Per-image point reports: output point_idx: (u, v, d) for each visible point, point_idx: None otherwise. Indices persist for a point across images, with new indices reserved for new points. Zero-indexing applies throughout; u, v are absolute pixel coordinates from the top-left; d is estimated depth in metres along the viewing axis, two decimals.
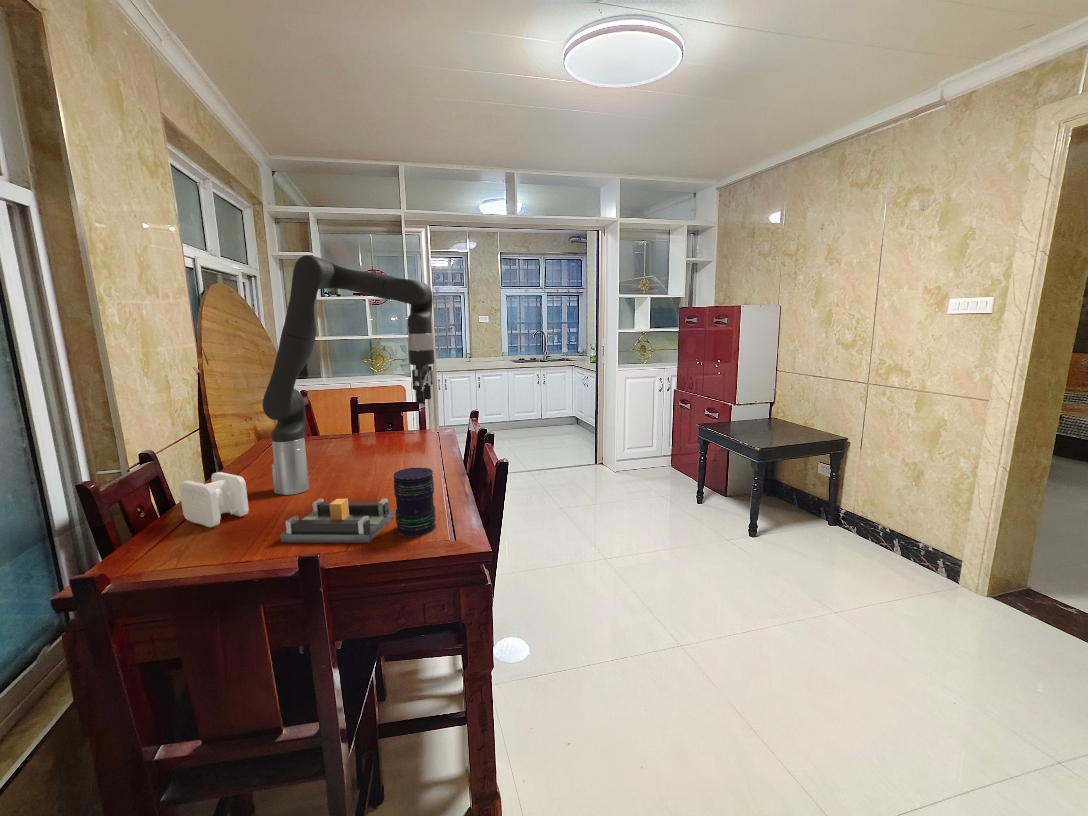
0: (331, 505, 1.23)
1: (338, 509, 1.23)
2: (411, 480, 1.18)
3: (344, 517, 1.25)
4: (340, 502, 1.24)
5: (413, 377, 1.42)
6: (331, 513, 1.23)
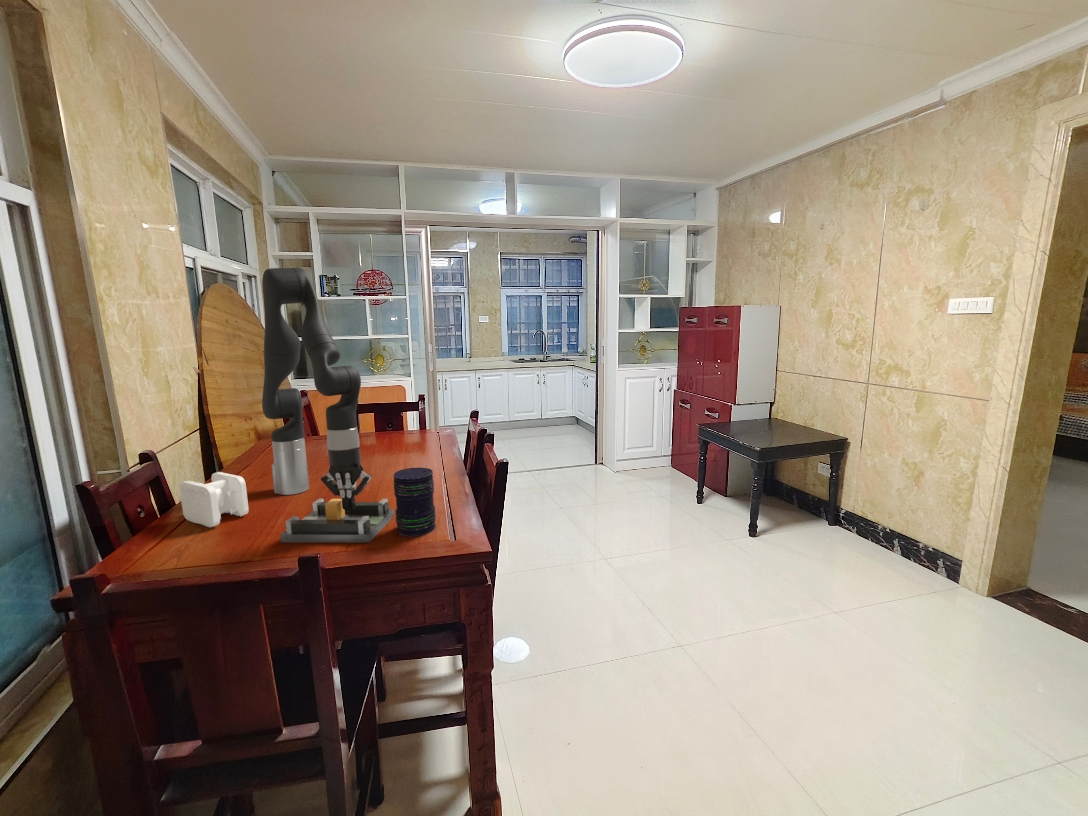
0: (327, 505, 1.23)
1: (334, 509, 1.23)
2: (411, 480, 1.18)
3: (340, 517, 1.25)
4: (336, 502, 1.24)
5: (364, 485, 1.23)
6: (327, 513, 1.23)
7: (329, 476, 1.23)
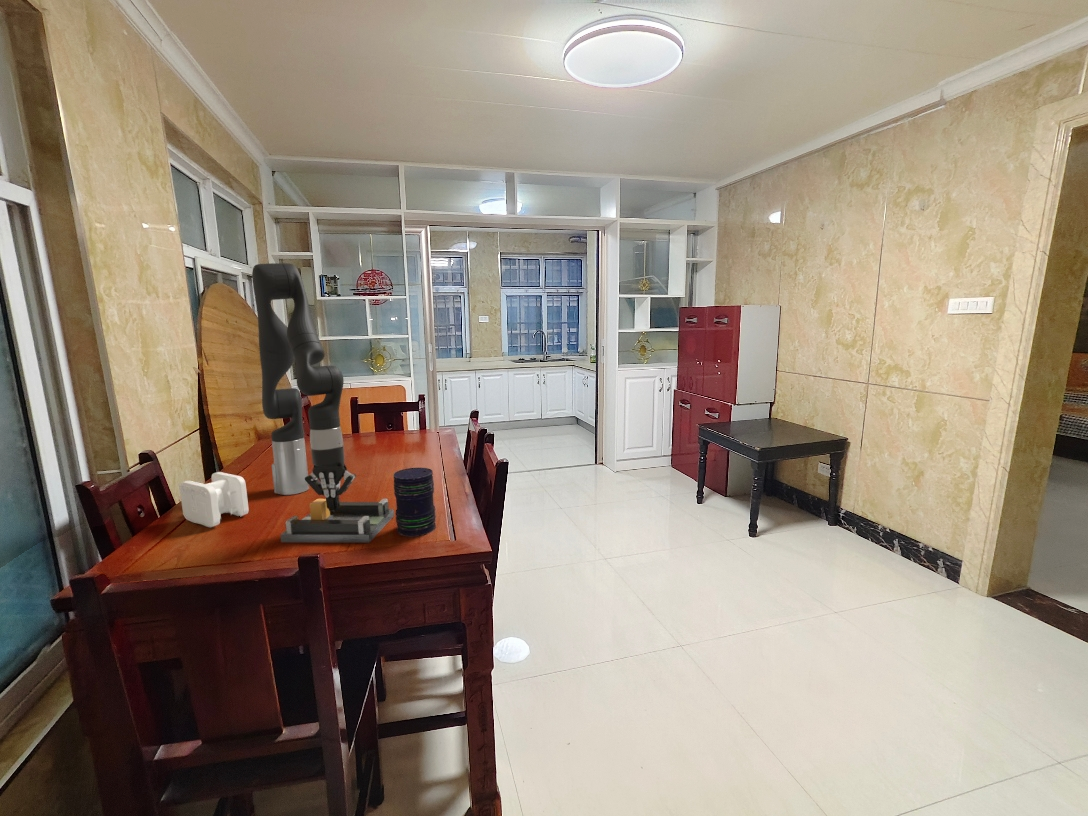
0: (311, 505, 1.23)
1: (318, 509, 1.23)
2: (411, 480, 1.18)
3: (324, 517, 1.25)
4: (320, 502, 1.24)
5: (348, 484, 1.23)
6: (311, 513, 1.23)
7: (313, 476, 1.24)
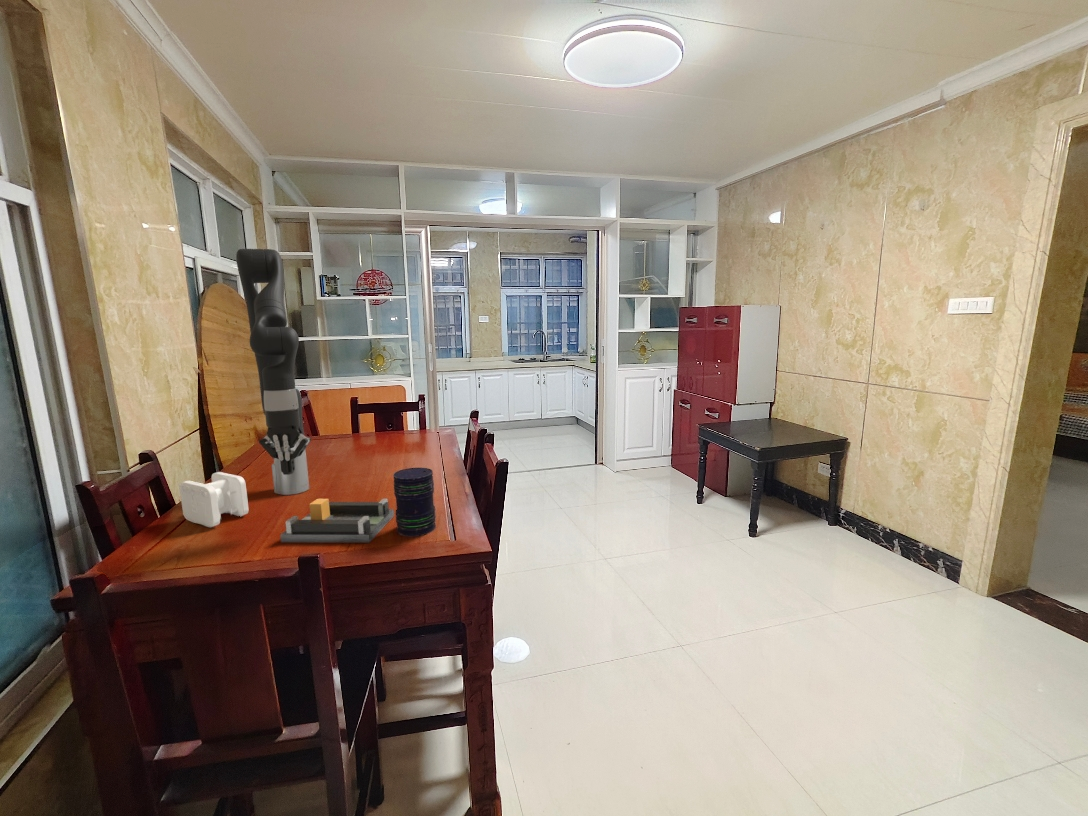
0: (311, 505, 1.23)
1: (318, 509, 1.23)
2: (411, 480, 1.18)
3: (324, 517, 1.25)
4: (320, 502, 1.24)
5: (303, 447, 1.22)
6: (311, 513, 1.23)
7: (267, 439, 1.22)
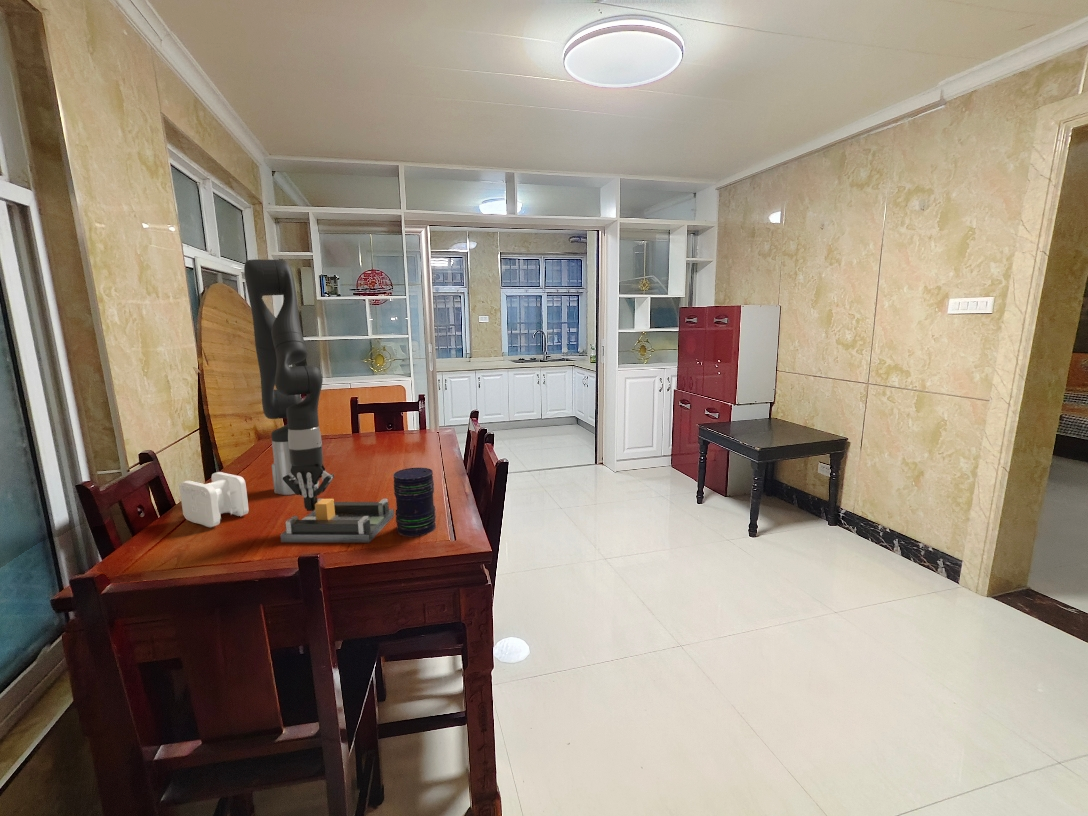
0: (316, 505, 1.23)
1: (323, 509, 1.23)
2: (411, 480, 1.18)
3: (330, 517, 1.25)
4: (326, 502, 1.24)
5: (326, 485, 1.23)
6: (316, 513, 1.23)
7: (291, 476, 1.24)
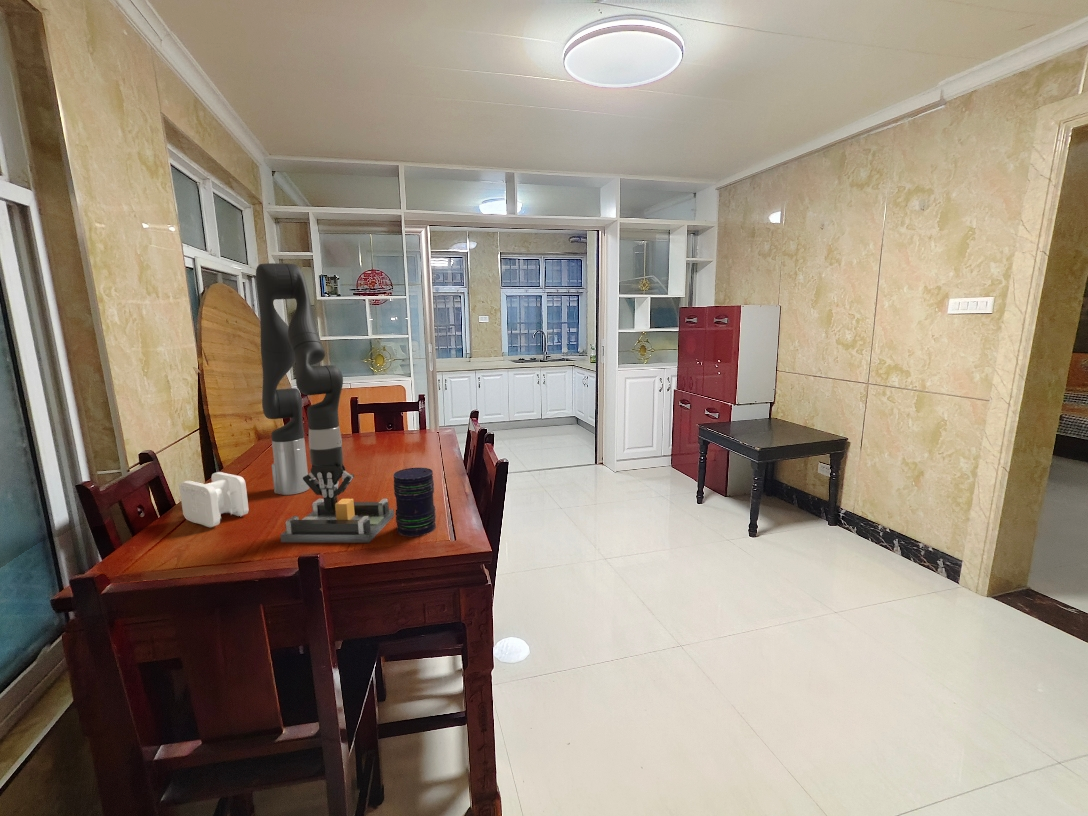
0: (337, 505, 1.23)
1: (344, 509, 1.23)
2: (411, 480, 1.18)
3: (350, 517, 1.24)
4: (346, 502, 1.24)
5: (346, 484, 1.23)
6: (337, 513, 1.23)
7: (311, 475, 1.23)
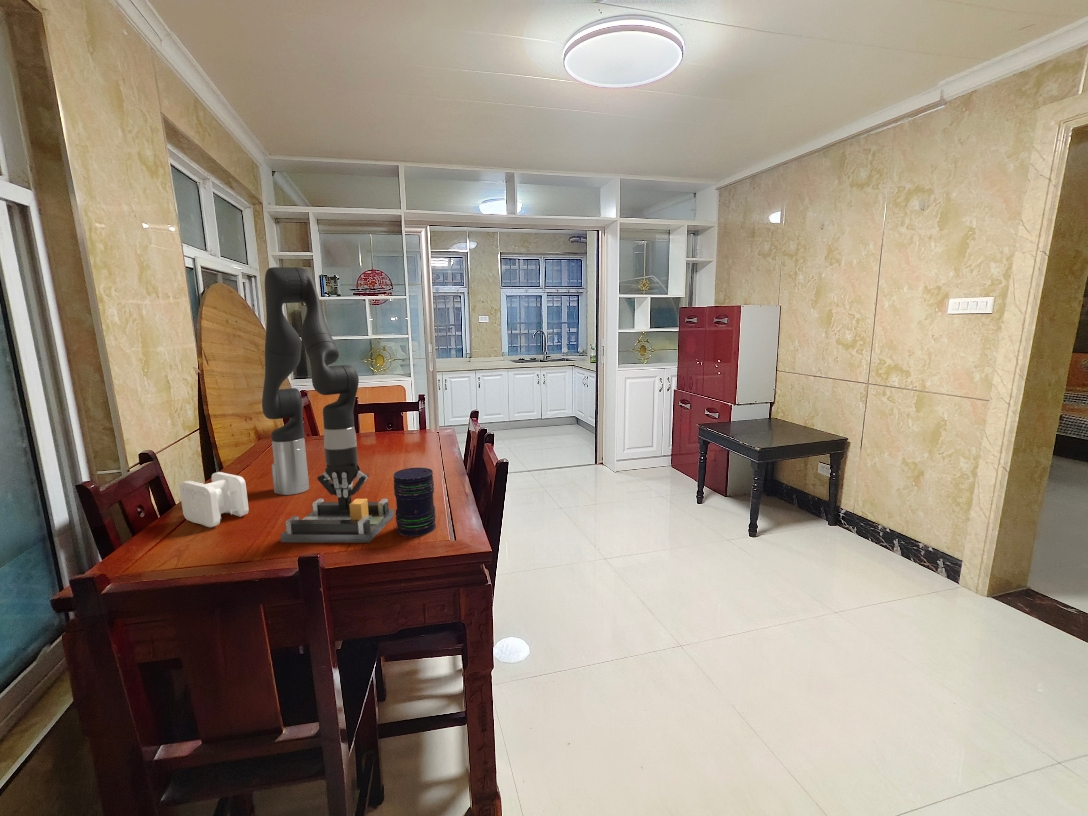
0: (351, 505, 1.23)
1: (358, 509, 1.23)
2: (411, 480, 1.18)
3: None
4: (360, 502, 1.24)
5: (361, 485, 1.23)
6: (351, 513, 1.23)
7: (326, 475, 1.23)
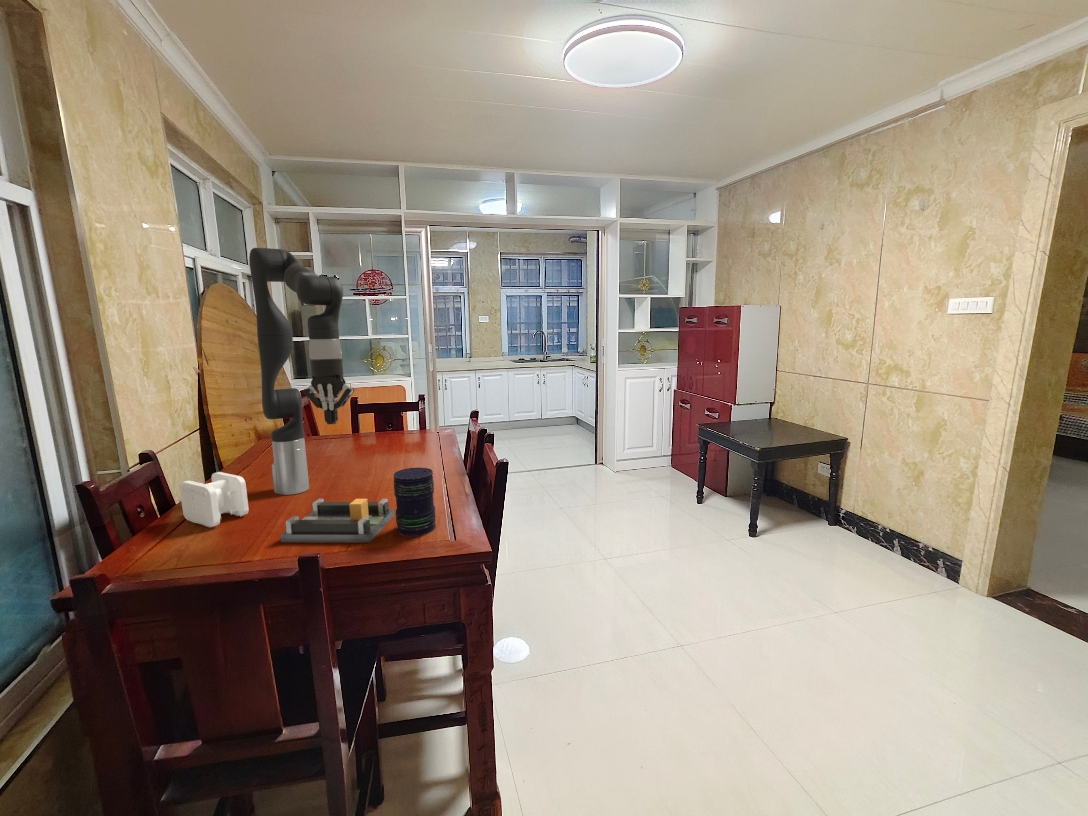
0: (351, 505, 1.23)
1: (358, 509, 1.23)
2: (411, 480, 1.18)
3: None
4: (360, 502, 1.24)
5: (346, 397, 1.23)
6: (351, 513, 1.23)
7: (311, 388, 1.24)
